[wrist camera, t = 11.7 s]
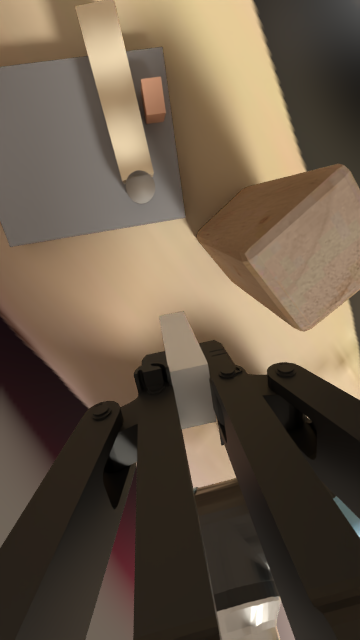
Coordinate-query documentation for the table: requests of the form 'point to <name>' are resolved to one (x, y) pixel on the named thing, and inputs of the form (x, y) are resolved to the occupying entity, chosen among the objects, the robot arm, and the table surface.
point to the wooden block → (292, 243)
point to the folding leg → (117, 96)
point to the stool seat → (79, 151)
